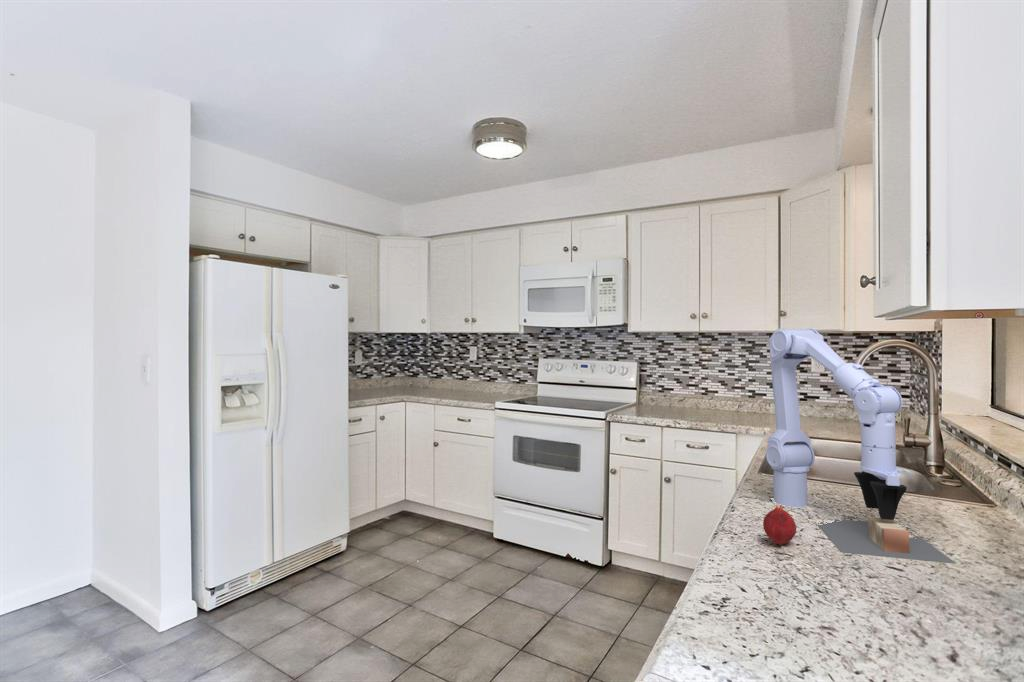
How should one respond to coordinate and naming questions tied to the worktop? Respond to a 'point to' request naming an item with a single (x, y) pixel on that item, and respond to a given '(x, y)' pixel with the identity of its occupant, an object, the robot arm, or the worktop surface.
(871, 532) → the block
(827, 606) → the worktop surface
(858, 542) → the mat
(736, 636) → the worktop surface
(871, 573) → the worktop surface
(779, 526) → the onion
